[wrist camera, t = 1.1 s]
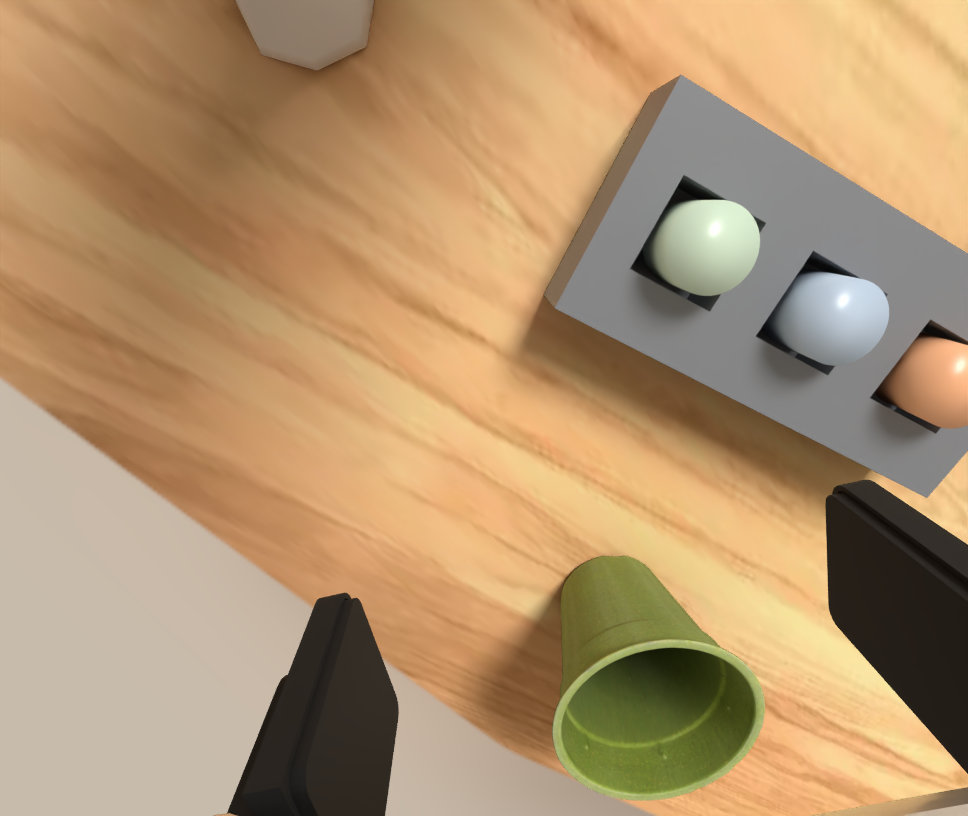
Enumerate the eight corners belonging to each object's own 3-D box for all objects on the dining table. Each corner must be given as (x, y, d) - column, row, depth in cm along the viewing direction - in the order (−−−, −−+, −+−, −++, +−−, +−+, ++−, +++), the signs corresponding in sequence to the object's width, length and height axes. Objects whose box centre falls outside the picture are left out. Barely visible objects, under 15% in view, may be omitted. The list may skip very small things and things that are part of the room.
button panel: (650, 92, 30) (680, 74, 26) (1003, 307, 35) (1078, 322, 30) (543, 294, 34) (554, 308, 29) (876, 465, 38) (926, 498, 34)
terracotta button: (903, 319, 32) (961, 335, 28) (960, 352, 33) (1023, 371, 29) (854, 384, 33) (903, 408, 30) (909, 415, 34) (964, 441, 30)
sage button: (671, 184, 29) (701, 182, 25) (739, 224, 30) (778, 227, 26) (627, 262, 31) (649, 270, 27) (693, 298, 31) (724, 311, 28)
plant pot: (643, 672, 44) (699, 821, 34) (505, 629, 42) (518, 772, 32) (720, 554, 40) (809, 679, 30) (572, 501, 39) (611, 615, 28)
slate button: (792, 255, 31) (838, 262, 27) (855, 291, 31) (907, 303, 28) (745, 326, 32) (782, 342, 28) (806, 359, 33) (850, 379, 29)
